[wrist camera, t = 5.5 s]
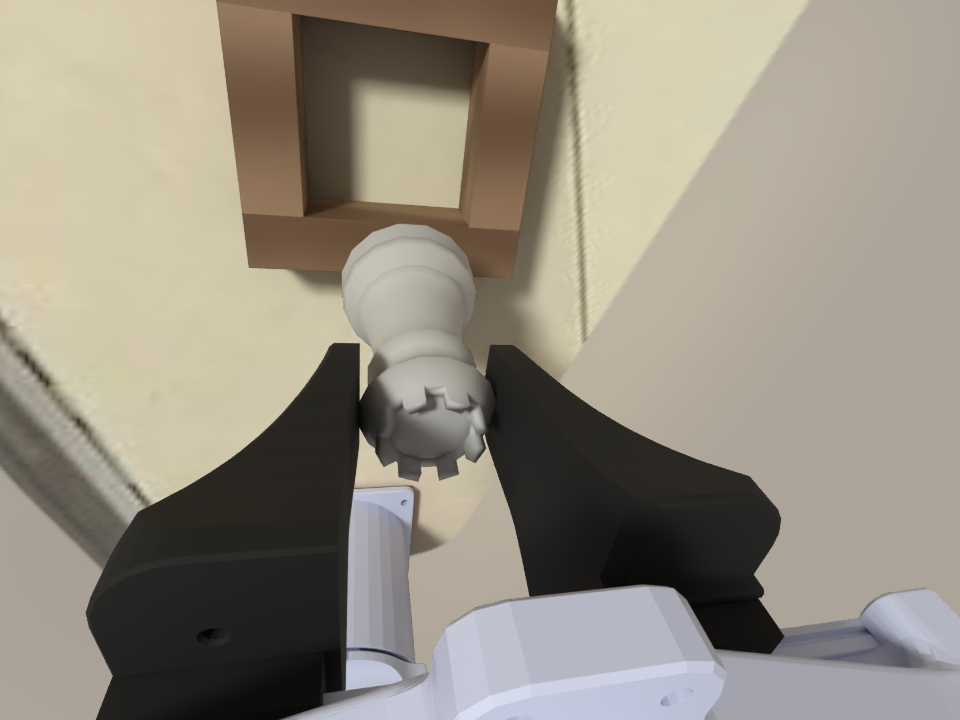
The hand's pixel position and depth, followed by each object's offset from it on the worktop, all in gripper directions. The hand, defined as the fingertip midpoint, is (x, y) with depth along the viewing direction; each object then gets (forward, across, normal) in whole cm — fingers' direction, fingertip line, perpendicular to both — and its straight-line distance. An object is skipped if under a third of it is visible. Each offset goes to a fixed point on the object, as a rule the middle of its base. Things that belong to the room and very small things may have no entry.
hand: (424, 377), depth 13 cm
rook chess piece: (+6, 0, 0) cm, 6 cm away
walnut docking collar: (+10, +1, -4) cm, 11 cm away
